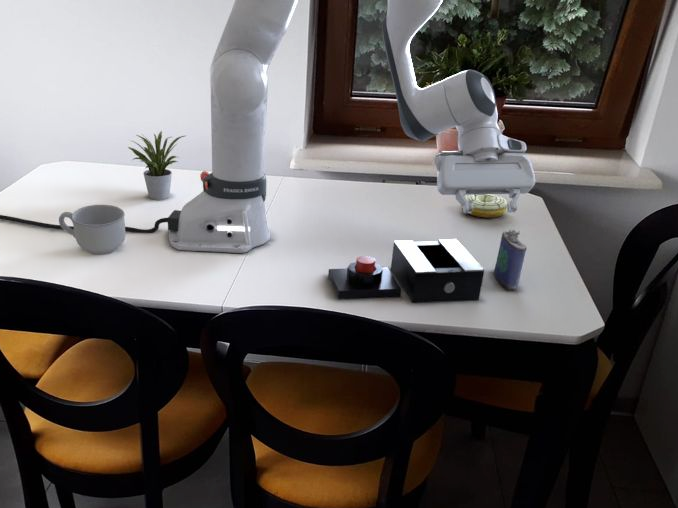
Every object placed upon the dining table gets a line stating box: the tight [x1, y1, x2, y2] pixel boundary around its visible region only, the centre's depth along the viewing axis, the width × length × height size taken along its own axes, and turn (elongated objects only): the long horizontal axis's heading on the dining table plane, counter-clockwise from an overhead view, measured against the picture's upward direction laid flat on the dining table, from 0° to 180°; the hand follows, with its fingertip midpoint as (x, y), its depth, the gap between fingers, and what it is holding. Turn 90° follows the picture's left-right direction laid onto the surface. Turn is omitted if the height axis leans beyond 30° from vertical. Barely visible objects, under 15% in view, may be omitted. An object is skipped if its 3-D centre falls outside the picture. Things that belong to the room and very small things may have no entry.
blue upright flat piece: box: [493, 229, 527, 292], centre depth 137 cm, size 9×3×11 cm, turn 3°
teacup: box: [58, 204, 126, 255], centre depth 148 cm, size 14×11×8 cm
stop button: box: [355, 255, 376, 273], centre depth 134 cm, size 4×4×2 cm
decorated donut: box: [461, 194, 508, 219], centre depth 174 cm, size 10×11×4 cm
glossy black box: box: [390, 238, 485, 304], centre depth 136 cm, size 14×16×6 cm
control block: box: [327, 261, 402, 300], centre depth 135 cm, size 12×10×4 cm
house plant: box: [127, 130, 186, 201], centre depth 176 cm, size 14×14×16 cm
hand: (490, 211), depth 144 cm, fingers open, 8 cm apart
